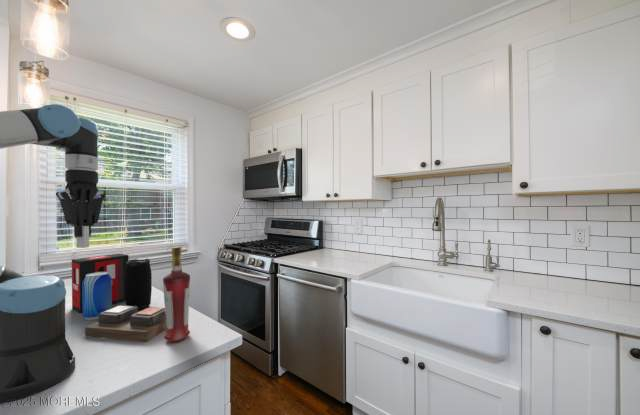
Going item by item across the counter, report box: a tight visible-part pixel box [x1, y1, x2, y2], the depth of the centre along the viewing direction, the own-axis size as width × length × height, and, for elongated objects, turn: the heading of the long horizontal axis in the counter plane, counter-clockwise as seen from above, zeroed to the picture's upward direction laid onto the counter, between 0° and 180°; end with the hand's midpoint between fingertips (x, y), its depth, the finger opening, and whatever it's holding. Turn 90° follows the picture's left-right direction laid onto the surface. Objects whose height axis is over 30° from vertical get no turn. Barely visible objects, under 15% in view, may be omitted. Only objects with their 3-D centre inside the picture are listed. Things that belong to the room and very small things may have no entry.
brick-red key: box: [136, 306, 164, 316], centre depth 88 cm, size 5×5×2 cm
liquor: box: [162, 246, 191, 343], centre depth 82 cm, size 7×7×28 cm
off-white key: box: [104, 305, 133, 314], centre depth 90 cm, size 5×5×2 cm
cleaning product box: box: [71, 253, 130, 314], centre depth 113 cm, size 16×9×20 cm, turn 148°
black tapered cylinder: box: [124, 258, 153, 311], centre depth 107 cm, size 9×9×20 cm
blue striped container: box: [82, 272, 113, 321], centre depth 100 cm, size 8×8×16 cm
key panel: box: [84, 304, 166, 343], centre depth 89 cm, size 14×22×6 cm, turn 80°
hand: (82, 247), depth 82 cm, fingers closed
